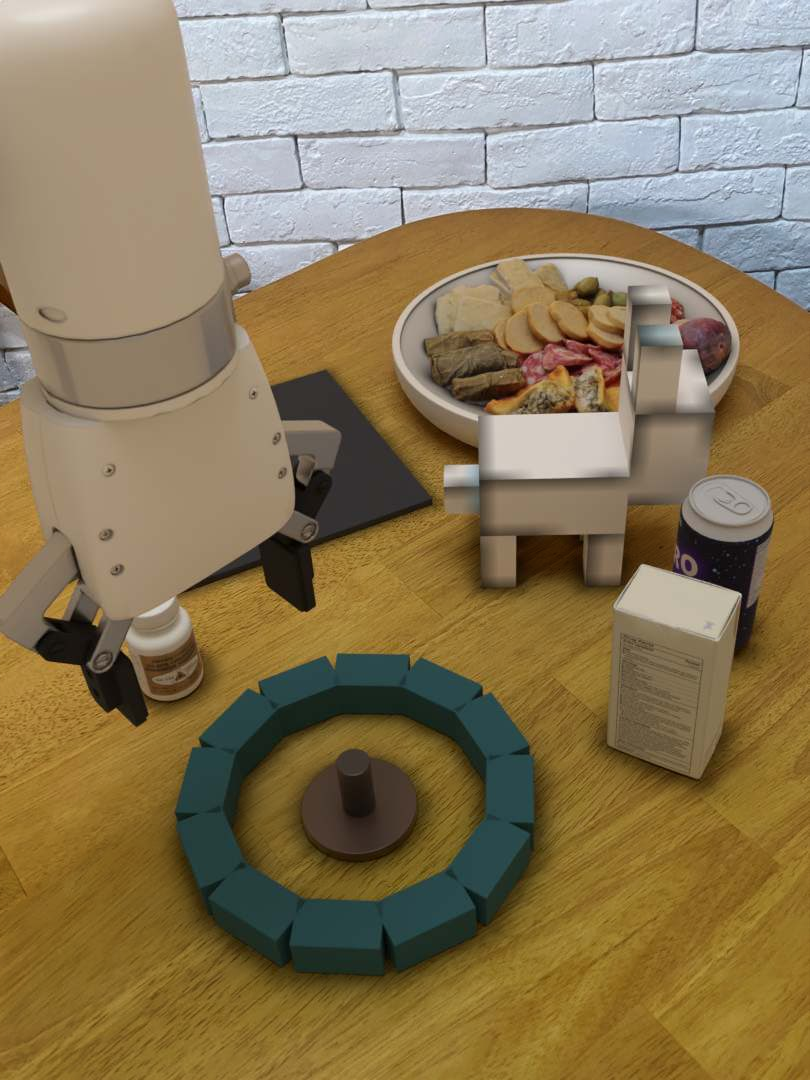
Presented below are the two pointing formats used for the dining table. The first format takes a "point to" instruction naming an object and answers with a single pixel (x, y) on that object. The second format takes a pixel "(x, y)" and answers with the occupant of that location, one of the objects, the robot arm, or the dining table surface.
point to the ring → (356, 925)
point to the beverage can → (726, 540)
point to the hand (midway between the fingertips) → (211, 649)
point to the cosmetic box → (671, 668)
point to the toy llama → (592, 455)
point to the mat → (343, 467)
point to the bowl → (542, 338)
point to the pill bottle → (165, 652)
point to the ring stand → (359, 807)
